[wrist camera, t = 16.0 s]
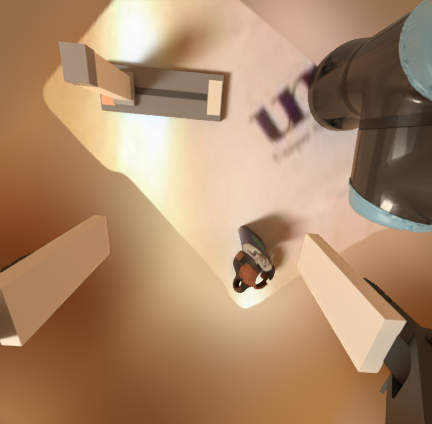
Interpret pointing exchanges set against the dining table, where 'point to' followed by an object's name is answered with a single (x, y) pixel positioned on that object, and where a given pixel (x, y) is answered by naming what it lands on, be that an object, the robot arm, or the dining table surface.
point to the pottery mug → (249, 274)
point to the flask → (254, 248)
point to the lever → (96, 73)
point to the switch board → (172, 94)
